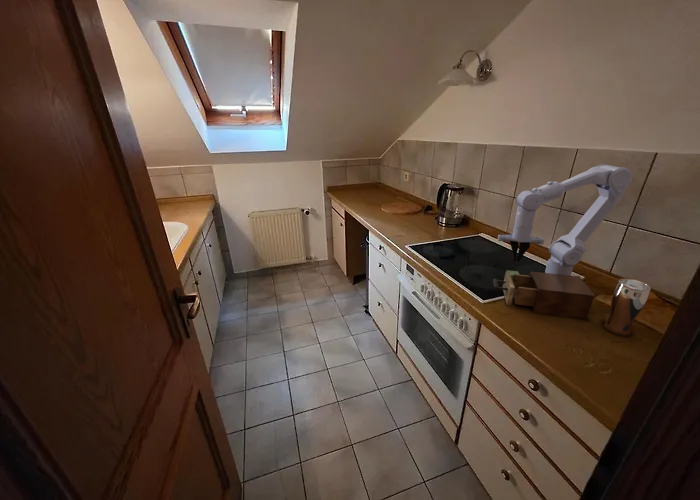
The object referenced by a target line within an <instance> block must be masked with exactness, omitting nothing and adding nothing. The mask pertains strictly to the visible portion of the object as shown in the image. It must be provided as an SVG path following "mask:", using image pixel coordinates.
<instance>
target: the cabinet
mask: <svg viewBox="0 0 700 500" xmlns="http://www.w3.org/2000/svg"><path fill="white" fill-rule="evenodd" d="M529 276H532V278H533V280H534V282H535V284H536V287H537V289H538V292H537V296H536V300H535V304H534V307H533V306H530V307H531V310H532V313H539V314H546V315H552V316H560V317H567V318H574V319H581V320H587V319H588V316H589V315H590V314H589V313H590V310H591V308H592V304H593V301H594V298H595V293H593V292H592V290H591V289H590V287H589V286H588V285H587V284H586V282H585V281H584V280H583V279H582V277H581V276H579V275H571V276H569V275H560V274H551V273H545V272H541V271H540V272H539V271H530V273H529Z"/></svg>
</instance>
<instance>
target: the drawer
mask: <svg viewBox="0 0 700 500" xmlns="http://www.w3.org/2000/svg"><path fill="white" fill-rule="evenodd" d="M499 283H500V284H501V283H502V284H503V285H502V286H499ZM492 285H493V288H494V291H498V290H502V291H503V295H504V299H505V303H506V305H507V306H512V302H514V304H515V305H518V306H519V305H520V306H525V307H526V306H527V307H531V306H533V307H534V304H535V300H536V296H537V292H538V289H537V287H536V284H535V282H534V280H533V278H532V276H530V275H526V274H520V273H519V274H514V275H513V280H512V278H511V275H510V272H507V271H505V274H504V279H503V280H500V279H497V278H492Z"/></svg>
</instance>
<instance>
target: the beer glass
mask: <svg viewBox="0 0 700 500" xmlns="http://www.w3.org/2000/svg"><path fill="white" fill-rule="evenodd" d="M651 289H652V288H651V286H650V285H648V284H647V283H645V282H643V281H640V280H637V279H633V278H620V279H619V280H618V282H617V285H616V287H615V288H614V291H613V292H612V296H611V302H610V310H609V315H608V317H607V319H606V320H605V321H604V323H603V326H604V328H605V329H606V330H608V331H609V332H611V333H614V334H615V335H616V334H617V335H620V336H629V335H631V333H632V328H633V324H634V322H635V320H636V318H637V317H638V315H639V314H641V312H642V311H643V309H644V308H645V305H646V304H647V302H648V299H649V295H650V292H651Z"/></svg>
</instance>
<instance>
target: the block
mask: <svg viewBox="0 0 700 500" xmlns="http://www.w3.org/2000/svg"><path fill="white" fill-rule="evenodd" d="M506 272H510V275H511V278H512V280H513V275H514V274H519V275H520V272H519V271H518V270H510V269H509V270H506Z"/></svg>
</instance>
